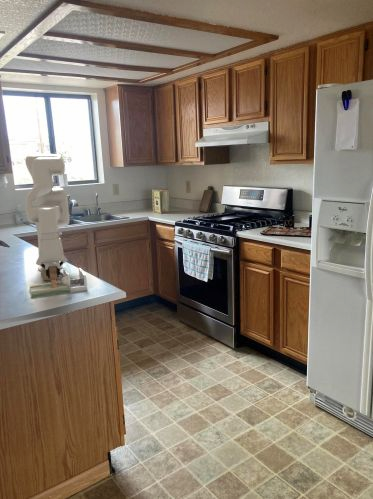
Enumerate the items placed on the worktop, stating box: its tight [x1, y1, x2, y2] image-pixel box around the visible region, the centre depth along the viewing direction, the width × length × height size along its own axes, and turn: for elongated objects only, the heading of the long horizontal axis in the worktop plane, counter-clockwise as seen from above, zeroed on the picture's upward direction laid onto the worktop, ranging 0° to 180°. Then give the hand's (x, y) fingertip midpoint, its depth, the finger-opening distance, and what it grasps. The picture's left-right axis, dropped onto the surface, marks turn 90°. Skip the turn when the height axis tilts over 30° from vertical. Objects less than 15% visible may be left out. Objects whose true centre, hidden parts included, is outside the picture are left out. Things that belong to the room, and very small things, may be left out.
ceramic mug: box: [40, 262, 64, 282], centre depth 198 cm, size 11×8×8 cm
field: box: [29, 281, 69, 299], centre depth 180 cm, size 13×15×2 cm
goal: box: [62, 267, 88, 294], centre depth 183 cm, size 14×8×8 cm, turn 23°
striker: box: [49, 266, 58, 288], centre depth 179 cm, size 6×3×9 cm, turn 23°
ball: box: [60, 276, 71, 286], centre depth 182 cm, size 4×4×4 cm
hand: (53, 276), depth 179 cm, fingers closed on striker, 3 cm apart
